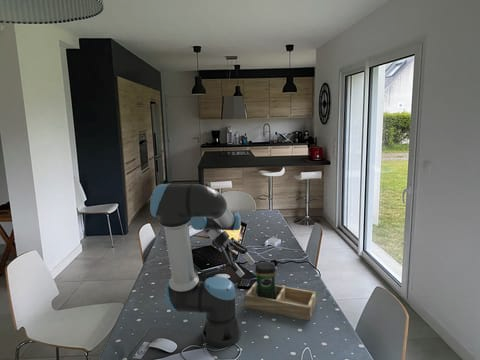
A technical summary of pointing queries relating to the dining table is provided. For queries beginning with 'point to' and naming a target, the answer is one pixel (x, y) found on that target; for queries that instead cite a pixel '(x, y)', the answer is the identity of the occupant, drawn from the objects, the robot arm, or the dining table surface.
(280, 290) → the jar crate
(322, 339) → the dining table surface
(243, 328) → the dining table surface
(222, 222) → the robot arm
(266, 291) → the coffee jar
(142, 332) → the dining table surface
